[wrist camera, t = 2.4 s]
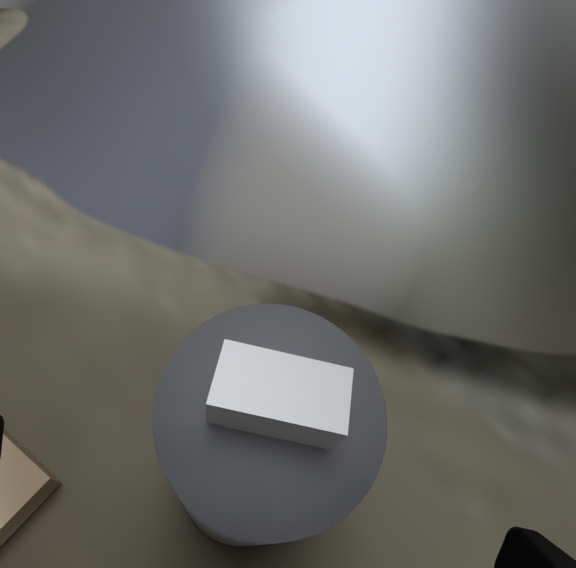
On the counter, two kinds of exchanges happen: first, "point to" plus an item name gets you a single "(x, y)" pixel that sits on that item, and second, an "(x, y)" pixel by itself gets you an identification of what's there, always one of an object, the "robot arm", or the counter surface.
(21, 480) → the birch board
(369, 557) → the counter surface
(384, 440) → the white-capped grey cylinder
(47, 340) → the counter surface
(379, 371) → the counter surface
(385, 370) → the counter surface
